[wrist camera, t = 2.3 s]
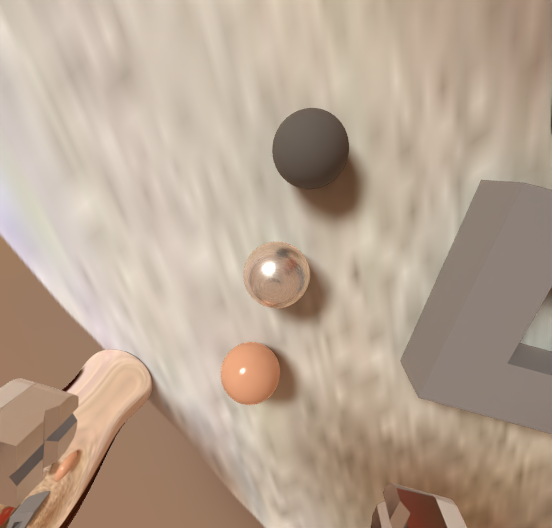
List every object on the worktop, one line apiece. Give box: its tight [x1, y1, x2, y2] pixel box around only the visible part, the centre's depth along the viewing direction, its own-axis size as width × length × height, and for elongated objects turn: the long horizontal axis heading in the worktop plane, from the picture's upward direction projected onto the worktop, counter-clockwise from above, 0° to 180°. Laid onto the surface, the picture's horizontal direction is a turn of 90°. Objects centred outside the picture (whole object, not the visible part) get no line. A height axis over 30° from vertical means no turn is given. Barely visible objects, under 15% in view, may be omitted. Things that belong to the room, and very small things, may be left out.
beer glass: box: [0, 349, 152, 528], centre depth 20 cm, size 7×7×15 cm
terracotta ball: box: [221, 342, 280, 405], centre depth 23 cm, size 4×4×4 cm
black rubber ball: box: [272, 108, 349, 189], centre depth 18 cm, size 4×4×4 cm
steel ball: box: [244, 242, 310, 308], centre depth 20 cm, size 4×4×4 cm
